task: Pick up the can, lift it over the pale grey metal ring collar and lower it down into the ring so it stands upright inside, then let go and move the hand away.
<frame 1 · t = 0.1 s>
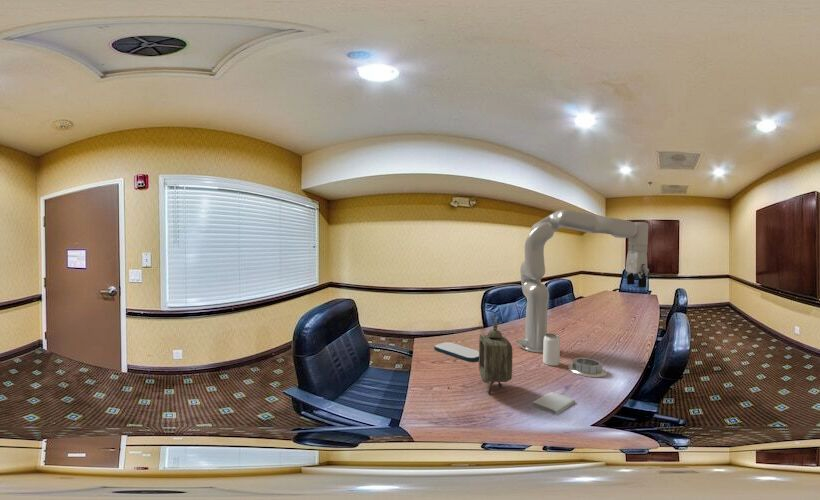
hand: (636, 285, 172), 31 cm above the table, tool pointing down, fingers open, 9 cm apart
ring collar: (587, 370, 148), on the table
external hard drive: (458, 354, 168), on the table
can: (550, 364, 156), on the table
tabletop clock: (494, 388, 131), on the table
hard drive: (553, 406, 119), on the table
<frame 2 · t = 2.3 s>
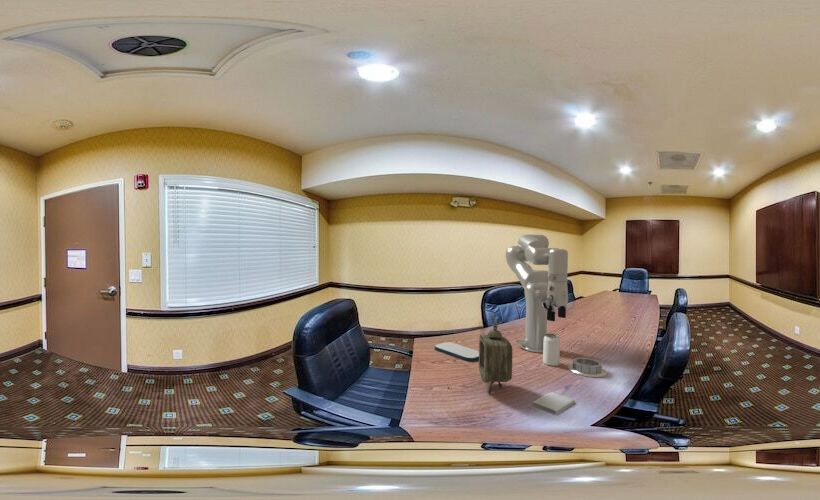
hand: (556, 319, 156), 19 cm above the table, tool pointing down, fingers open, 9 cm apart
nothing on the table moved.
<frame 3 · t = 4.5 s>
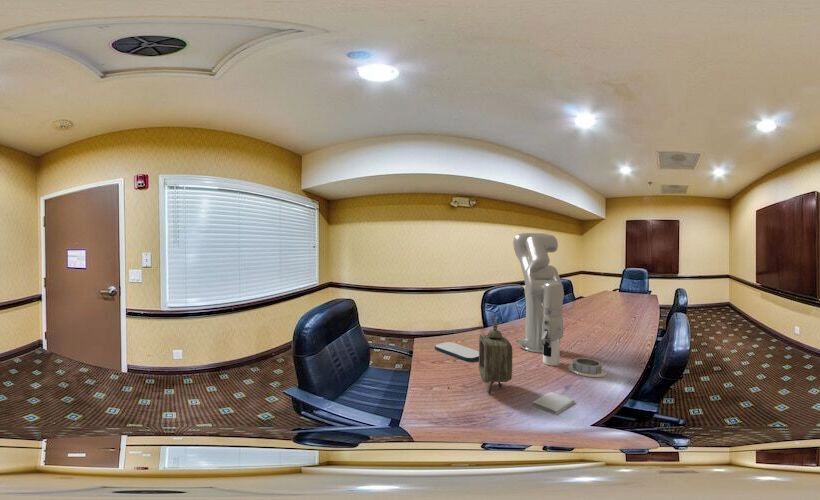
hand: (551, 353, 156), 4 cm above the table, tool pointing down, fingers closed on can, 6 cm apart
can: (550, 364, 156), on the table, touching gripper
everything else where it was.
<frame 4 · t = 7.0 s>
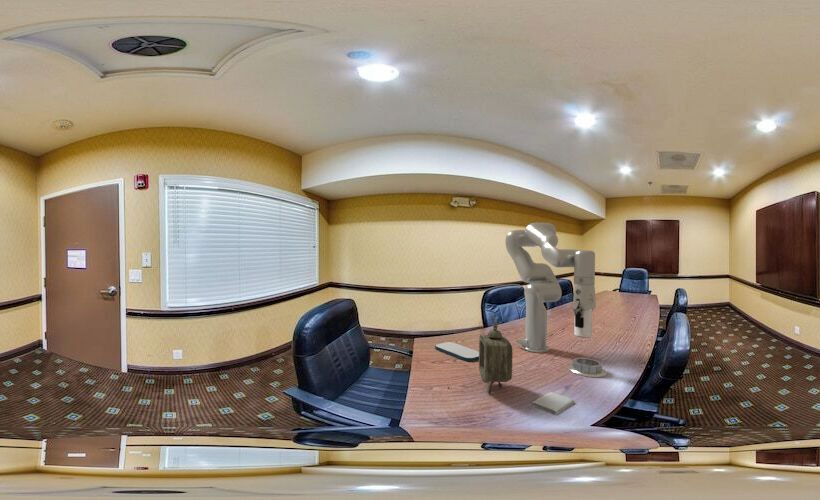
hand: (583, 325, 148), 18 cm above the table, tool pointing down, fingers closed on can, 6 cm apart
can: (583, 336, 148), point 14 cm above the table, touching gripper
everything else where it was.
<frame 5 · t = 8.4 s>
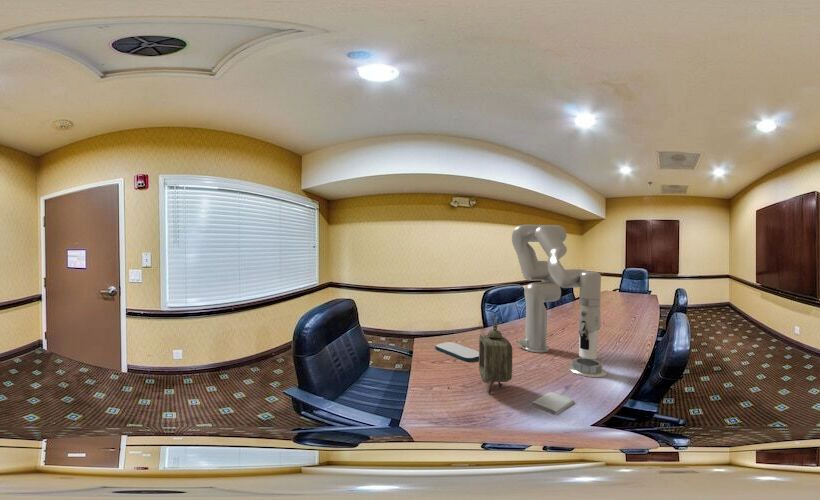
hand: (588, 346, 148), 10 cm above the table, tool pointing down, fingers closed on can, 6 cm apart
can: (587, 357, 148), point 5 cm above the table, touching gripper
everything else where it was.
when the fingers open (6 cm above the table, at t = 9.7 s): can drops 1 cm, resting on ring collar.
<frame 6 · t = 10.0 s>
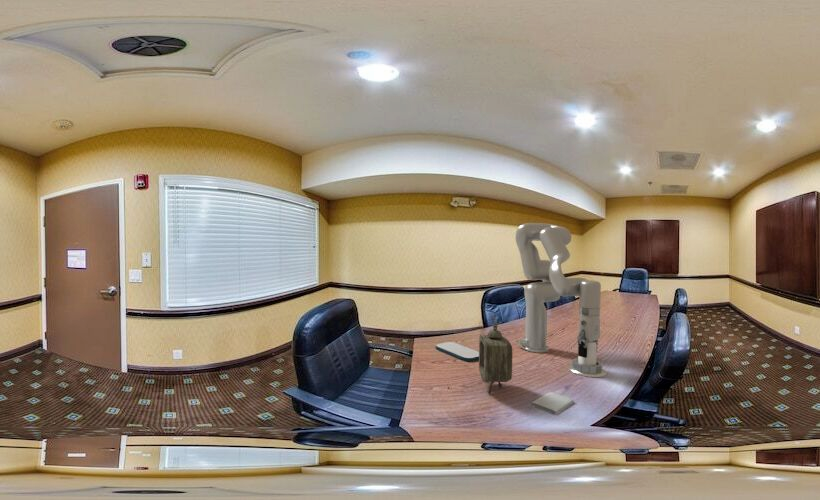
hand: (587, 354, 148), 7 cm above the table, tool pointing down, fingers open, 9 cm apart
can: (586, 369, 148), resting on ring collar
everything else where it was.
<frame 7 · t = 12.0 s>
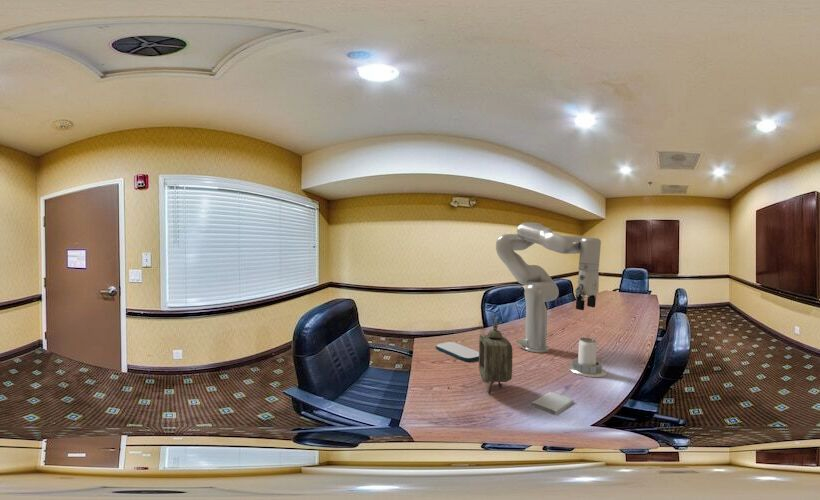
hand: (585, 308, 155), 24 cm above the table, tool pointing down, fingers open, 9 cm apart
nothing on the table moved.
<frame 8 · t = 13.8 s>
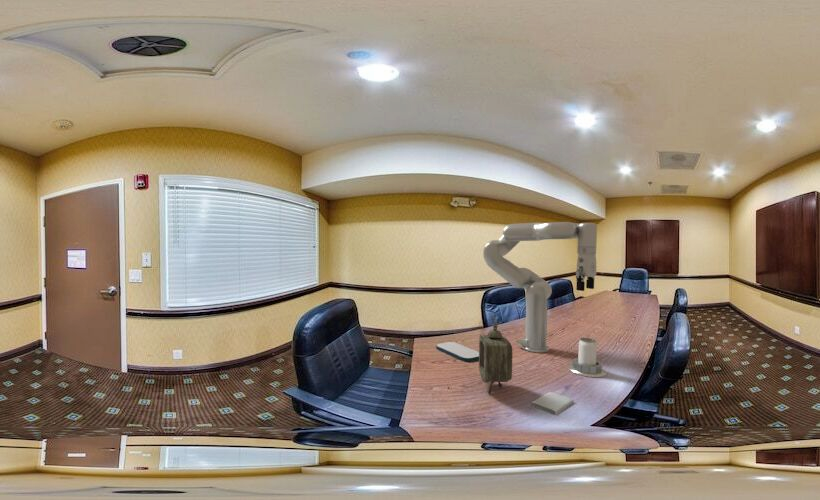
hand: (585, 289, 164), 30 cm above the table, tool pointing down, fingers open, 9 cm apart
nothing on the table moved.
at the end: can 0.2 cm off-centre on the ring collar, point 0.3 cm above the ring collar's base; can tilted 0°; the gripper is holding nothing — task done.
